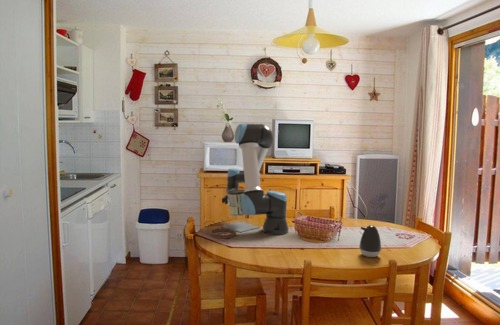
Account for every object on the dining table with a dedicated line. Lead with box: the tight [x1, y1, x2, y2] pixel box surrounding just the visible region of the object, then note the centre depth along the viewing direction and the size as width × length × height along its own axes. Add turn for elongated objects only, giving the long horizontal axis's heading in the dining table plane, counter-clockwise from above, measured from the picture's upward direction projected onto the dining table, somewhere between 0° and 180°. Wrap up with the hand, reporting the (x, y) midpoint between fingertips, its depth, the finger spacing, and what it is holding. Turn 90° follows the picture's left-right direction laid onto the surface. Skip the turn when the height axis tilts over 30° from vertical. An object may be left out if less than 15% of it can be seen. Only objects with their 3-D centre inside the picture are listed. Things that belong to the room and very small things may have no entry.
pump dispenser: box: [359, 224, 382, 258], centre depth 194 cm, size 10×10×15 cm
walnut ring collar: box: [209, 227, 237, 239], centre depth 222 cm, size 14×14×2 cm
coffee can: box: [227, 188, 247, 217], centre depth 236 cm, size 10×10×14 cm
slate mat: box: [221, 221, 260, 233], centre depth 238 cm, size 16×16×1 cm
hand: (240, 203), depth 234 cm, fingers open, 13 cm apart
